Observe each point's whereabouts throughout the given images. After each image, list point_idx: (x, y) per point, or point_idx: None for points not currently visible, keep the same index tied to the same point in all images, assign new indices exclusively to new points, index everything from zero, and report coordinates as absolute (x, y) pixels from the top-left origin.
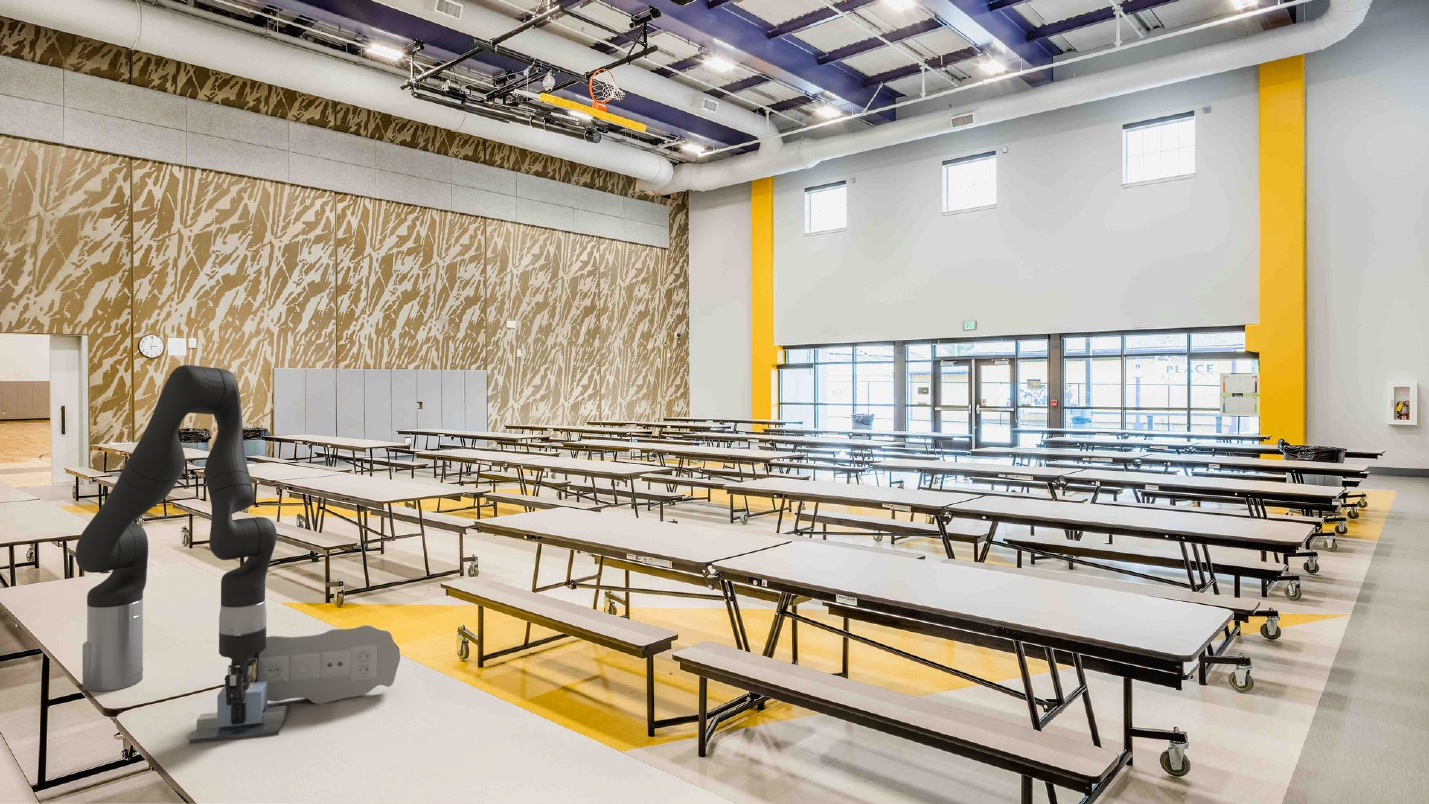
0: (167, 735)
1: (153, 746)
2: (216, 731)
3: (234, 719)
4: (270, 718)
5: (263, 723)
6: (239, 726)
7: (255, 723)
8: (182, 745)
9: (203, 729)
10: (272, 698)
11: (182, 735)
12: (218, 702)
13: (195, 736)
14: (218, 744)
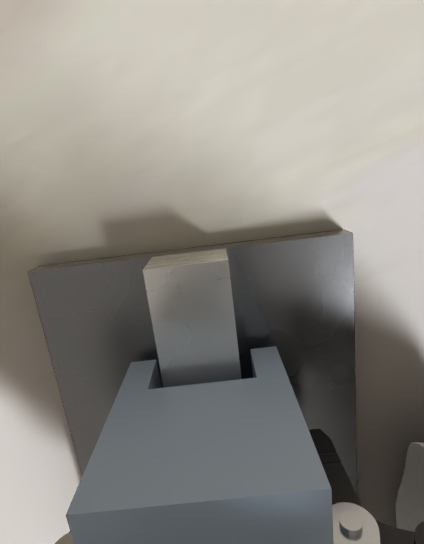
0: (149, 108)
1: (18, 96)
2: (112, 359)
3: None
4: None
5: None
6: None
7: None
8: (27, 240)
9: (143, 291)
10: (404, 511)
11: (141, 190)
12: (88, 469)
13: (60, 287)
14: (34, 387)
